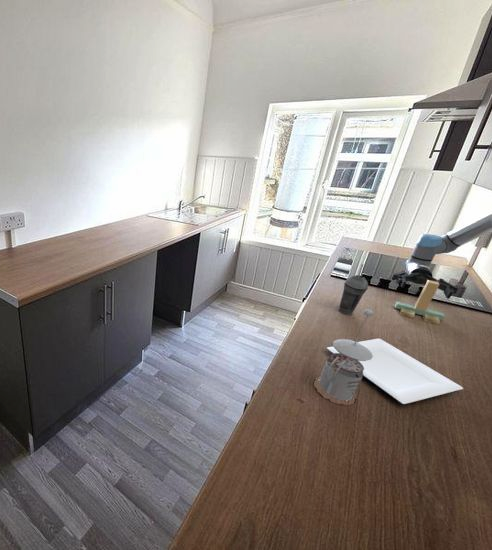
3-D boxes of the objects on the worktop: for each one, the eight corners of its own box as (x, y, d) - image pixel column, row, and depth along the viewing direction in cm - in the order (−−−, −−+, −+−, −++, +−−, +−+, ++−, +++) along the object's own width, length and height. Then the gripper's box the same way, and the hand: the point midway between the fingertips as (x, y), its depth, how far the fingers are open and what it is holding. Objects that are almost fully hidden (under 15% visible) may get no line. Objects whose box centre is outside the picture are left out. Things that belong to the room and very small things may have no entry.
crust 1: (413, 314, 117) (415, 311, 116) (412, 318, 114) (414, 315, 113) (400, 310, 119) (402, 307, 118) (399, 314, 116) (401, 311, 116)
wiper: (440, 318, 115) (458, 286, 109) (441, 321, 113) (460, 289, 107) (394, 306, 122) (408, 275, 117) (394, 309, 120) (409, 278, 114)
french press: (364, 396, 77) (405, 315, 66) (340, 414, 71) (380, 328, 61) (325, 372, 85) (356, 296, 74) (301, 387, 79) (331, 306, 69)
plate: (400, 409, 73) (404, 403, 73) (324, 352, 93) (326, 347, 92) (460, 393, 79) (464, 387, 78) (377, 342, 99) (379, 337, 98)
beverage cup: (337, 314, 115) (356, 267, 106) (332, 305, 121) (349, 260, 113) (359, 318, 113) (380, 270, 104) (352, 309, 119) (371, 263, 111)
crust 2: (436, 320, 113) (438, 317, 113) (438, 325, 110) (440, 321, 110) (422, 316, 115) (424, 313, 115) (424, 321, 113) (425, 317, 112)
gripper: (453, 289, 128) (465, 308, 112) (381, 273, 141) (382, 289, 126) (462, 273, 125) (475, 291, 109) (387, 259, 138) (389, 272, 122)
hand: (426, 290), depth 117 cm, fingers open, 13 cm apart
